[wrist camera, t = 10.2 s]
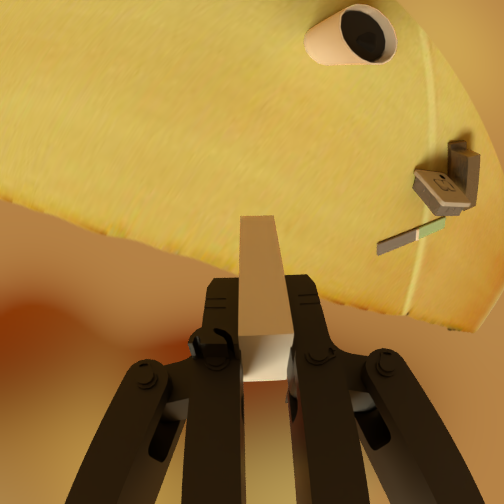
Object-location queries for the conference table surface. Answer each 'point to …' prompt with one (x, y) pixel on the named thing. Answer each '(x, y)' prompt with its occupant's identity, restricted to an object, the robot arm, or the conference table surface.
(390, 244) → the green and grey strip
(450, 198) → the electrical switch
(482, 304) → the conference table surface
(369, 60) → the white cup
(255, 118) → the conference table surface
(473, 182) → the block
